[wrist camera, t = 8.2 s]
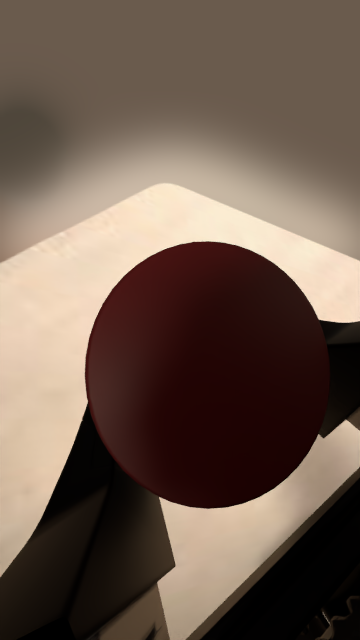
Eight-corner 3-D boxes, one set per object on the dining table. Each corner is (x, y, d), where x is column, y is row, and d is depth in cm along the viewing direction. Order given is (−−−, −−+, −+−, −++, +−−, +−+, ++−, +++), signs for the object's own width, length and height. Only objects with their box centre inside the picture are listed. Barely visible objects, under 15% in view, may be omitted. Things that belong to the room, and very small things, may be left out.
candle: (194, 321, 17) (320, 255, 5) (193, 382, 16) (345, 492, 4) (134, 318, 16) (99, 222, 4) (130, 382, 15) (64, 535, 3)
